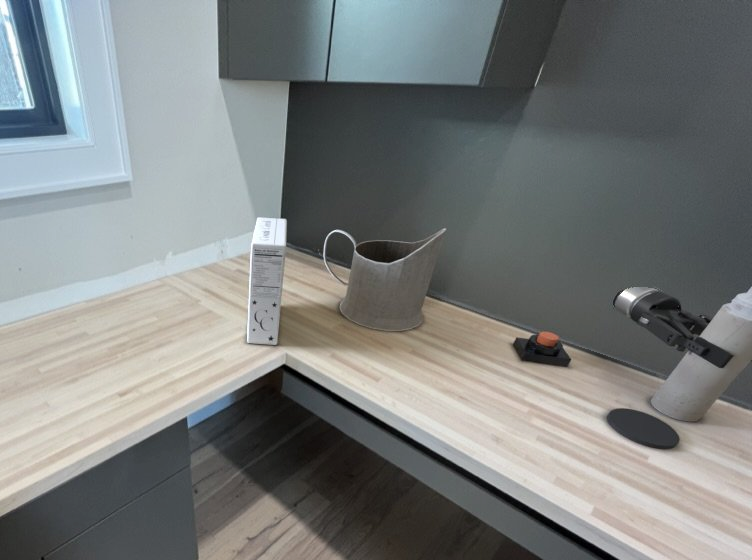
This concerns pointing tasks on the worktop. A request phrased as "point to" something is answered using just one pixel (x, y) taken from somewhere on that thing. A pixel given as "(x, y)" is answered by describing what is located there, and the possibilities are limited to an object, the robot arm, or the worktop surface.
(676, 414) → the thermos bottle
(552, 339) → the lid button
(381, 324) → the pitcher
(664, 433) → the coaster
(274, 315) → the cereal box
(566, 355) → the button block
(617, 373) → the worktop surface
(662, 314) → the robot arm
